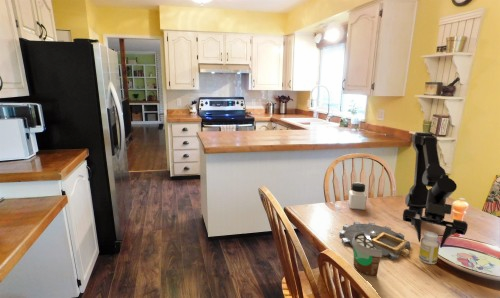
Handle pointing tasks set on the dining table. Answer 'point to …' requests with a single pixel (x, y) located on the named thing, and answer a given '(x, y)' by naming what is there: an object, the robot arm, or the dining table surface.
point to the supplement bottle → (429, 248)
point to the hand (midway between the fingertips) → (430, 244)
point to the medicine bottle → (357, 196)
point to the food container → (365, 255)
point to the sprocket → (377, 238)
